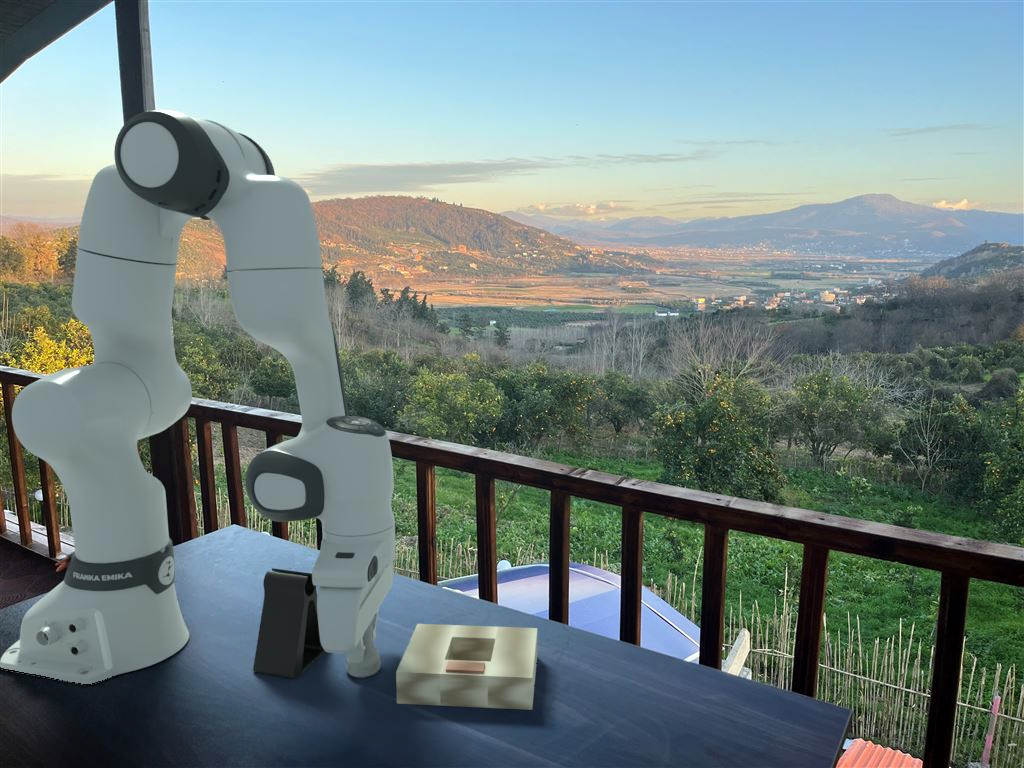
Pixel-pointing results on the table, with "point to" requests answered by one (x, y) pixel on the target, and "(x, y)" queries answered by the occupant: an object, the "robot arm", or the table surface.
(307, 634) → the phone stand
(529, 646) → the socket block
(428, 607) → the table surface
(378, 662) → the rook chess piece
